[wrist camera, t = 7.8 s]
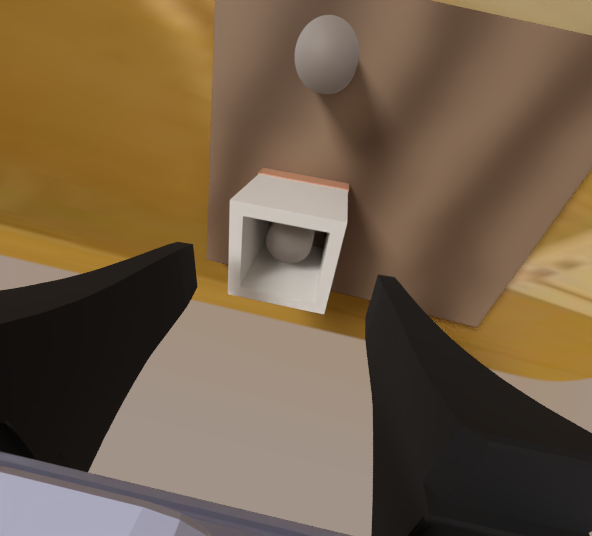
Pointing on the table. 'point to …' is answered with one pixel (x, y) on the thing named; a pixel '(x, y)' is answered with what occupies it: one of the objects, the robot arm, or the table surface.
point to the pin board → (403, 136)
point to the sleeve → (292, 211)
